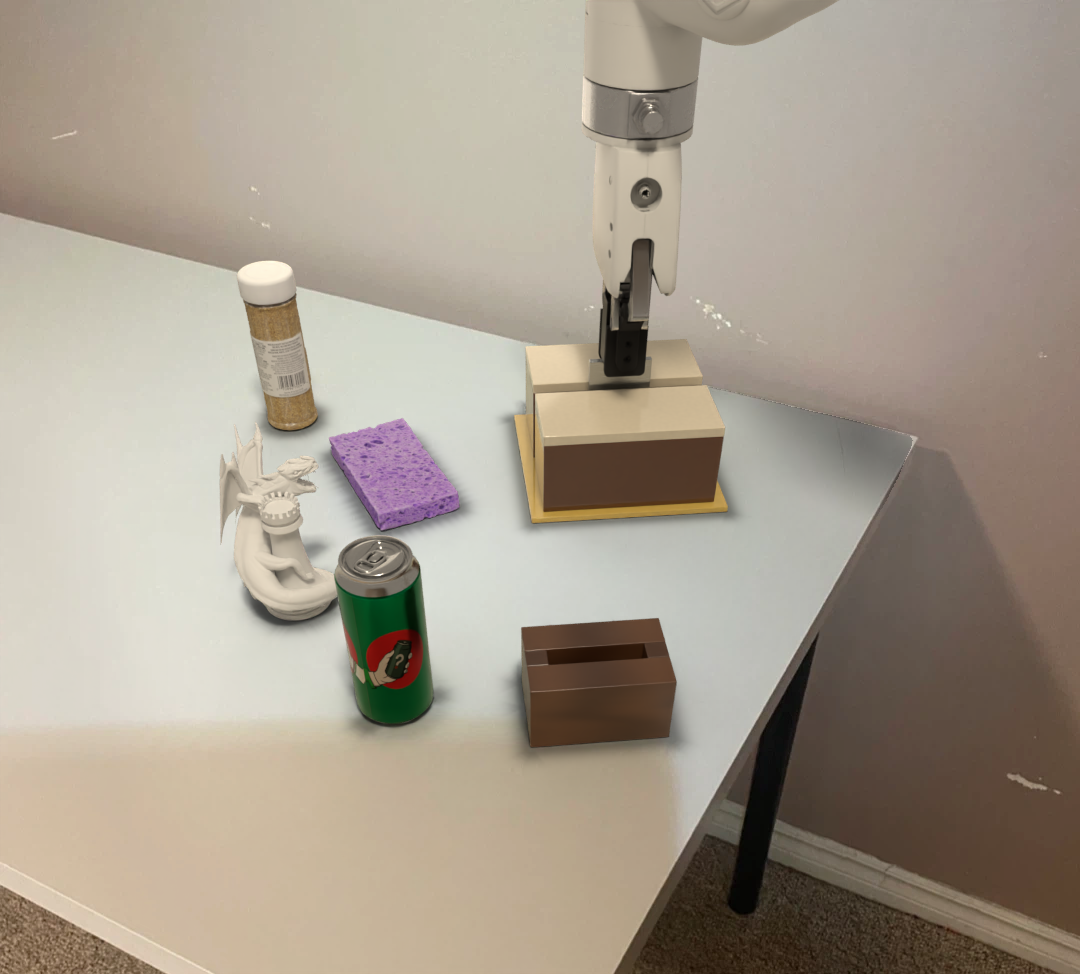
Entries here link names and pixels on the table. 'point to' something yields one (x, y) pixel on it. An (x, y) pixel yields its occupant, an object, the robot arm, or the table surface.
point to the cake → (618, 438)
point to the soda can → (385, 628)
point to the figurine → (273, 532)
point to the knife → (596, 366)
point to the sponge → (393, 474)
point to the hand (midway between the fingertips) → (621, 364)
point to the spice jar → (278, 343)
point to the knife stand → (596, 682)
